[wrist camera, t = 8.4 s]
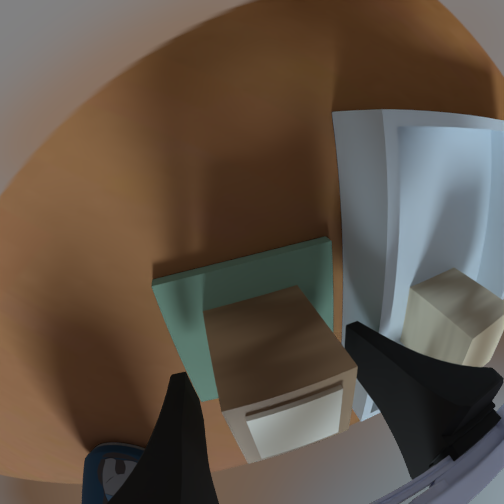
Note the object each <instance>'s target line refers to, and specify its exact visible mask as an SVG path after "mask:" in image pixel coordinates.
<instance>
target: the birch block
mask: <svg viewBox="0 0 504 504" xmlns="http://www.w3.org/2000/svg"><path fill="white" fill-rule="evenodd" d="M503 330H504V301H503V300H502V299H501V298H499V297H498V296H496V295H495V294H493V293H492V292H491V291H489V290H488V289H486V288H485V287H483V286H482V285H480V284H479V283H477V282H476V281H474V280H473V279H471V278H470V277H468V276H467V275H465V274H464V273H462V272H460V271H459V270H457V269H456V268H452V269H450V270H448V271H445V272H443V273H441V274H439V275H437V276H434V277H432V278H430V279H428V280H425V281H423V282H421V283H419V284H416V285H414V286H412V287H410V288H409V295H408V301H407V307H406V313H405V319H404V324H403V329H402V334H401V339H400V342H401V343H402V344H403V345H404V346H405V347H407V348H409V349H411V350H414V351H416V352H418V353H421V354H423V355H426V356H429V357H432V358H435V359H438V360H442V361H446V362H450V363H454V364H459V365H465V366H472V367H483V366H484V365H485V364H486V363H487V362H489V361H490V359H491V357H492V355H493V353H494V351H495V348H496V346H497V344H498V342H499V339H500V337H501V335H502V333H503Z"/></svg>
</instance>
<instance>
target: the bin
mask: <svg viewBox="0 0 504 504" xmlns="http://www.w3.org/2000/svg"><path fill="white" fill-rule="evenodd" d="M332 118H333V126H334V134H335V143H336V152H337V162H338V173H339V186H340V200H341V218H342V243H343V319H342V346H343V347H344V348H345V330H346V325H347V324H350V323H353V322H355V321H359V322H360V323H362V324H364V325H366V326H368V327H369V328H371V329H373V330H374V331H376V332H378V333H380V334H382V335H383V336H385V337H387V338H389V339H391V340H393V341H395V342H396V343H398V344H400V345H403V344H402V343H401V342H400V339H401V334H402V329H403V324H404V319H405V313H406V307H407V301H408V295H409V288H410V287H412V286H414V285H416V284H419V283H421V282H423V281H425V280H428V279H430V278H432V277H434V276H437V275H439V274H441V273H443V272H445V271H448V270H450V269H452V268H456V269H457V270H459V271H460V272H462V273H464V274H465V275H467V276H468V277H470V278H471V279H473V280H474V281H476V282H477V283H479V284H480V285H482V286H483V287H485V288H486V289H488V290H489V291H491V292H492V293H493V294H495V295H496V296H498V297H499V298H501V299H502V300H503V299H504V121H503V120H498V119H492V118H486V117H479V116H472V115H465V114H456V113H446V112H435V111H420V110H397V109H373V110H352V111H337V112H332ZM403 346H404V345H403ZM352 408H353V410H354V412H355V413H356V415H357V416H358V418H359V420H360V421H364V420H366V419H368V418H370V417H372V416H373V415H376V414H378V413H380V410H379V409H378V407H377V406H376V404H375V403H374V402H373V400H372V399H371V397H370V396H369V395H368V393H367V392H366V391H365V389H364V388H363V387H362V385H361V384H360V382H359V381H358V380H357V378H356V385H355V392H354V399H353V405H352Z"/></svg>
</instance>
